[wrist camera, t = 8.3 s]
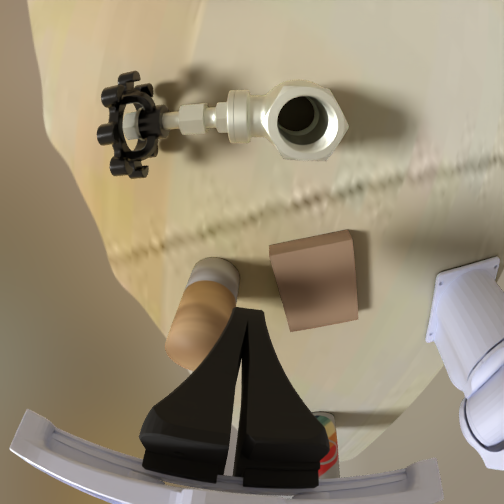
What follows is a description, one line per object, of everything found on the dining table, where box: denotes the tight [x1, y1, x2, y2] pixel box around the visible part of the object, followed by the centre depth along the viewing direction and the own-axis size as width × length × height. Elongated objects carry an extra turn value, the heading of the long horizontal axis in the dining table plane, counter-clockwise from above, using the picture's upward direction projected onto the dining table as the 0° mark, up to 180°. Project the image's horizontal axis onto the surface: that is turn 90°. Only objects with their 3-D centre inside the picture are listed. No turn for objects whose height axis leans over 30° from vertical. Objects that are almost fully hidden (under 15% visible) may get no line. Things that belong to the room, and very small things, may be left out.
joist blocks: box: [269, 230, 358, 332], centre depth 17 cm, size 33×6×2 cm, turn 15°
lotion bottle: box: [312, 412, 340, 479], centre depth 28 cm, size 6×6×20 cm
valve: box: [97, 71, 349, 179], centre depth 14 cm, size 7×7×12 cm
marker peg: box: [165, 257, 240, 371], centre depth 21 cm, size 4×4×8 cm
